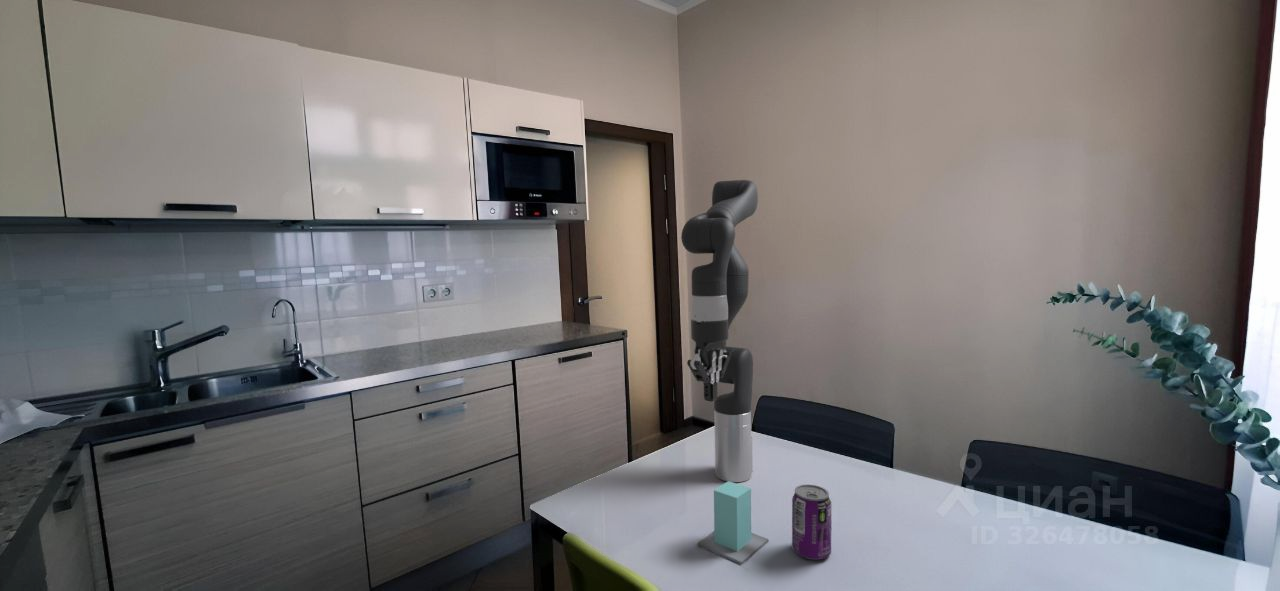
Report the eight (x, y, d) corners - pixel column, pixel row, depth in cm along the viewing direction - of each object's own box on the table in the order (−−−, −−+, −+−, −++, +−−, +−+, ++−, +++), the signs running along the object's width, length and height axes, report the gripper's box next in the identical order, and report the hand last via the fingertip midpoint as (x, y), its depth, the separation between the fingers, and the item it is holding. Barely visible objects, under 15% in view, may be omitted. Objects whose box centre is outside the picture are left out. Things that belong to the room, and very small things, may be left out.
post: (725, 524, 111) (725, 481, 110) (768, 541, 104) (768, 495, 103) (697, 545, 103) (696, 498, 103) (741, 564, 97) (741, 515, 96)
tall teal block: (728, 531, 107) (728, 481, 106) (751, 540, 104) (750, 488, 103) (714, 542, 103) (713, 490, 103) (737, 551, 100) (736, 498, 99)
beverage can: (834, 564, 96) (834, 501, 95) (793, 561, 97) (793, 498, 96) (828, 543, 103) (828, 484, 102) (790, 540, 104) (790, 482, 103)
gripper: (712, 312, 114) (713, 390, 116) (674, 319, 105) (676, 404, 106) (742, 314, 109) (743, 396, 111) (705, 322, 100) (707, 411, 101)
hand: (710, 400), depth 108 cm, fingers closed
